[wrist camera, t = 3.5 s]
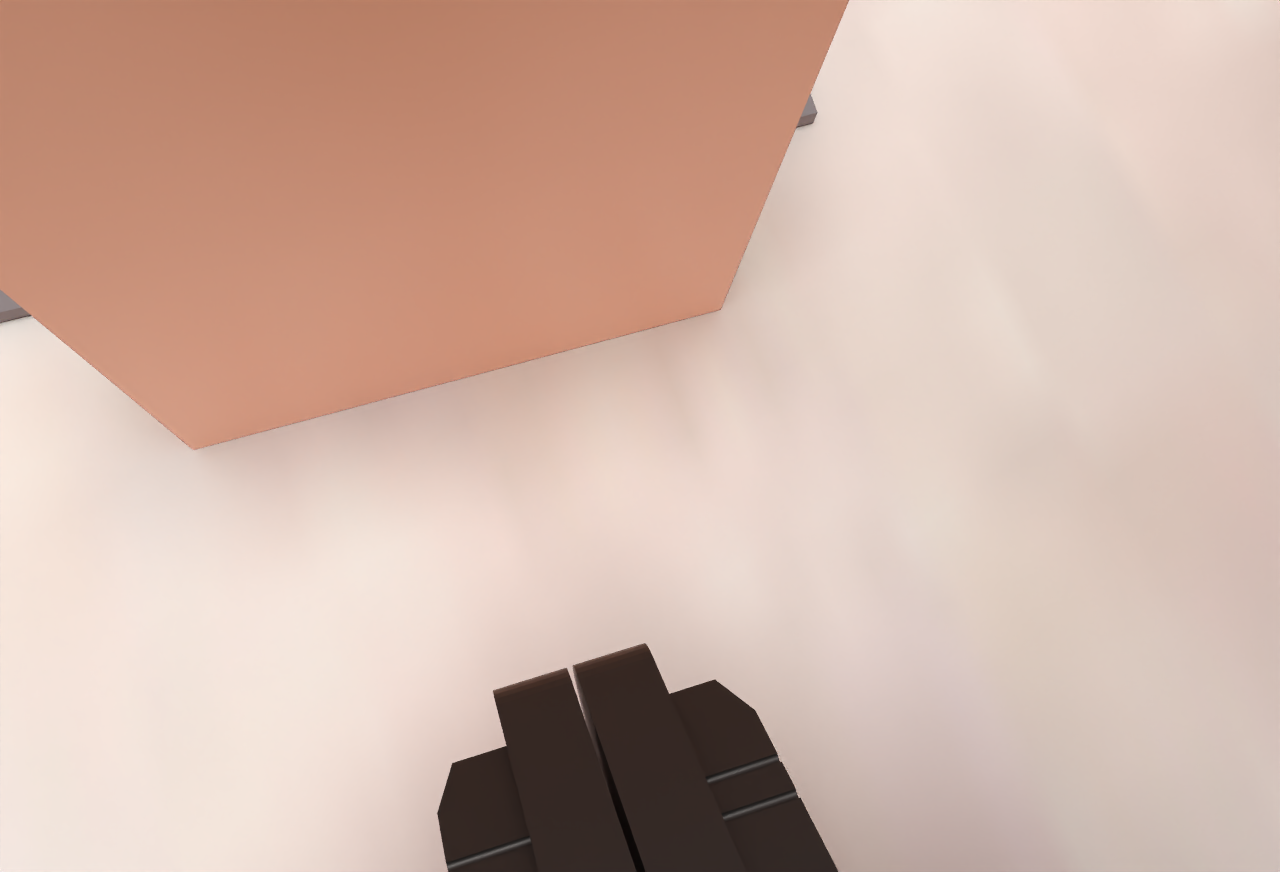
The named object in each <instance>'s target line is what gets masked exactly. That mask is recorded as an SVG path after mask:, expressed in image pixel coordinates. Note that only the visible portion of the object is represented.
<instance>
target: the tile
mask: <svg viewBox="0 0 1280 872" xmlns="http://www.w3.org/2000/svg"><path fill="white" fill-rule="evenodd" d="M848 1H849V0H0V290H1V291H3V292H4V293H5V294H6V295H7V296H9V297H10V298H11V299H12V300H13V301H15V302H16V303H17V304H18V305H19V306H21V307H22V308H23V309H24V310H25V311H27V312H28V313H29V314H30V315H31V316H33V317H34V318H35V319H36V320H38V321H39V322H40V323H41V324H42V325H44V326H45V327H46V328H47V329H48V330H50V331H51V332H52V333H53V334H54V335H56V336H57V337H58V338H59V339H60V340H62V341H63V342H64V343H65V344H66V345H68V346H69V347H70V348H71V349H72V350H74V351H75V352H76V353H77V354H78V355H80V356H81V357H82V358H83V359H84V360H86V361H87V362H88V363H89V364H90V365H92V366H93V367H94V368H95V369H96V370H98V371H99V372H100V373H101V374H102V375H104V376H105V377H106V378H107V379H108V380H110V381H111V382H112V383H113V384H115V385H116V386H117V387H118V388H119V389H121V390H122V391H123V392H124V393H125V394H127V395H128V396H129V397H130V398H131V399H133V400H134V401H135V402H136V403H137V404H139V405H140V406H141V407H142V408H143V409H145V410H146V411H147V412H148V413H149V414H151V415H152V416H153V417H154V418H155V419H157V420H158V421H159V422H160V423H161V424H163V425H164V426H165V427H166V428H167V429H169V430H170V431H171V432H172V433H173V434H175V435H176V436H177V437H178V438H179V439H181V440H182V441H183V442H184V443H185V444H187V445H188V446H189V447H190V448H192V449H193V450H196V449H199V448H203V447H207V446H211V445H214V444H218V443H222V442H226V441H229V440H233V439H237V438H241V437H244V436H248V435H252V434H256V433H259V432H263V431H267V430H271V429H274V428H278V427H282V426H286V425H289V424H293V423H297V422H301V421H304V420H308V419H312V418H316V417H319V416H323V415H327V414H331V413H334V412H338V411H342V410H346V409H349V408H353V407H357V406H361V405H365V404H368V403H372V402H376V401H380V400H383V399H387V398H391V397H395V396H398V395H402V394H406V393H410V392H413V391H417V390H421V389H425V388H428V387H432V386H436V385H440V384H443V383H447V382H451V381H455V380H458V379H462V378H466V377H470V376H473V375H477V374H481V373H485V372H488V371H492V370H496V369H500V368H503V367H507V366H511V365H515V364H518V363H522V362H526V361H530V360H533V359H537V358H541V357H545V356H548V355H552V354H556V353H560V352H564V351H567V350H571V349H575V348H579V347H582V346H586V345H590V344H594V343H597V342H601V341H605V340H609V339H612V338H616V337H620V336H624V335H627V334H631V333H635V332H639V331H642V330H646V329H650V328H654V327H657V326H661V325H665V324H669V323H672V322H676V321H680V320H684V319H687V318H691V317H695V316H699V315H702V314H706V313H710V312H714V311H717V310H721V307H722V305H723V303H724V300H725V298H726V295H727V293H728V291H729V288H730V286H731V283H732V281H733V279H734V276H735V274H736V271H737V269H738V266H739V264H740V262H741V259H742V257H743V254H744V252H745V250H746V247H747V245H748V242H749V240H750V238H751V235H752V233H753V230H754V228H755V226H756V223H757V221H758V218H759V216H760V213H761V211H762V209H763V206H764V204H765V201H766V199H767V197H768V194H769V192H770V189H771V187H772V185H773V182H774V180H775V177H776V175H777V173H778V170H779V168H780V165H781V163H782V160H783V158H784V156H785V153H786V151H787V148H788V146H789V144H790V141H791V139H792V136H793V134H794V132H795V129H796V127H797V124H798V122H799V119H800V117H801V115H802V112H803V110H804V107H805V105H806V103H807V100H808V98H809V95H810V93H811V91H812V88H813V86H814V83H815V81H816V79H817V76H818V74H819V71H820V69H821V66H822V64H823V62H824V59H825V57H826V54H827V52H828V50H829V47H830V45H831V42H832V40H833V38H834V35H835V33H836V30H837V28H838V25H839V23H840V21H841V18H842V16H843V13H844V11H845V9H846V6H847V4H848Z"/></svg>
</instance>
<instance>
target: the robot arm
mask: <svg viewBox="0 0 1280 872" xmlns="http://www.w3.org/2000/svg"><path fill="white" fill-rule="evenodd" d="M573 672H574V677H575V681H576V685H577V689H578V693H579V697H580V701H581V706H582V710H583V713H582V710H581V707H580V704H579V701H578V698H577V695H576V693H575V690H574V687H573V684H572V681H571V678H570V675H569V673H568V670H567V668H564V669H561V670H558V671H555V672H551V673H548V674H545V675H542V676H538V677H535V678H532V679H529V680H526V681H522V682H519V683H516V684H513V685H509V686H506V687H503V688H500V689H496V690H493V693H494V698H495V702H496V706H497V710H498V714H499V718H500V722H501V726H502V729H503V733H504V737H505V741H506V745H507V746H505V747H502V748H499V749H496V750H493V751H489V752H486V753H483V754H480V755H477V756H474V757H471V758H467V759H464V760H461V761H458V762H455V763H452V766H451V770H450V773H449V776H448V780H447V783H446V786H445V790H444V793H443V796H442V800H441V803H440V806H439V810H438V813H437V814H438V819H439V825H440V831H441V837H442V842H443V848H444V854H445V859H446V864H447V868H448V872H838V870H837V868H836V866H835V864H834V862H833V860H832V858H831V856H830V854H829V852H828V851H827V849H826V847H825V845H824V843H823V841H822V839H821V837H820V835H819V833H818V831H817V829H816V827H815V825H814V823H813V822H812V820H811V818H810V816H809V814H808V812H807V810H806V808H805V806H804V804H803V802H802V800H801V798H798V795H797V793H796V789H795V787H794V785H793V783H792V781H791V779H790V777H789V775H788V773H787V771H786V769H785V767H784V765H783V763H782V762H780V761H779V758H778V755H777V752H776V750H775V748H774V746H773V744H772V742H771V740H770V738H769V736H768V734H767V732H766V731H765V729H764V727H763V725H762V723H761V721H760V719H759V717H758V715H757V713H756V711H755V710H754V709H753V708H751V707H750V706H749V705H748V704H746V703H745V702H744V701H742V700H741V699H740V698H738V697H737V696H736V695H734V694H733V693H732V692H730V691H729V690H728V689H727V688H725V687H724V686H723V685H721V684H720V683H719V682H717V681H716V680H712V681H709V682H706V683H703V684H699V685H696V686H693V687H690V688H687V689H684V690H681V691H677V692H674V693H671V694H669V693H668V691H667V688H666V686H665V684H664V681H663V679H662V677H661V674H660V672H659V670H658V668H657V665H656V663H655V661H654V658H653V656H652V654H651V652H650V650H649V648H648V646H647V645H646V644H645V643H644V644H641V645H637V646H634V647H631V648H628V649H625V650H621V651H618V652H615V653H612V654H608V655H605V656H602V657H599V658H595V659H592V660H589V661H586V662H583V663H579V664H576V665H573ZM583 714H584V716H583ZM584 718H585V719H584Z"/></svg>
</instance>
